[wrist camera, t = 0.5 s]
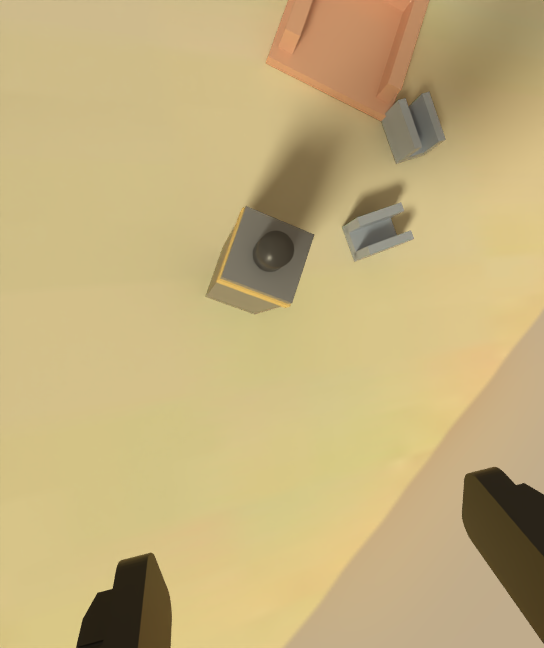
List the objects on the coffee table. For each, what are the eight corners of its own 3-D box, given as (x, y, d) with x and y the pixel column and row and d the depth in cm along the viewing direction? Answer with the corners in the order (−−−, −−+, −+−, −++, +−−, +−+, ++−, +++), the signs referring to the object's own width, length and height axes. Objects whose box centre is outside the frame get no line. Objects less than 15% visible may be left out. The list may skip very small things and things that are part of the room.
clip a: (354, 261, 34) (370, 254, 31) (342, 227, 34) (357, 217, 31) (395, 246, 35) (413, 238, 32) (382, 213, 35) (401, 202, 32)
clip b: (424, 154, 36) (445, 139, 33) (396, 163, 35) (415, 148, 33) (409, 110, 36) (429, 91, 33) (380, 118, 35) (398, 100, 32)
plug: (203, 297, 31) (222, 273, 20) (221, 245, 31) (250, 193, 20) (255, 316, 32) (302, 302, 21) (272, 265, 32) (327, 225, 21)
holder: (385, 123, 35) (402, 104, 32) (265, 63, 33) (274, 38, 30) (419, 12, 36) (440, -15, 34) (307, -54, 34) (319, -88, 31)
